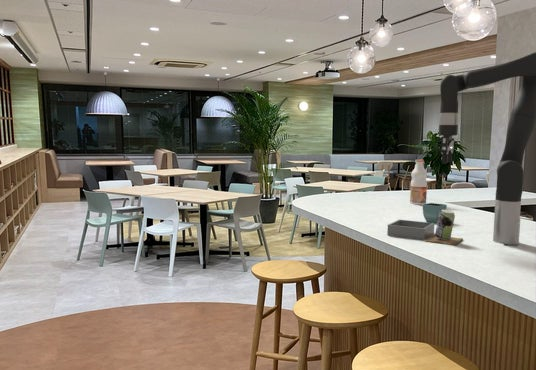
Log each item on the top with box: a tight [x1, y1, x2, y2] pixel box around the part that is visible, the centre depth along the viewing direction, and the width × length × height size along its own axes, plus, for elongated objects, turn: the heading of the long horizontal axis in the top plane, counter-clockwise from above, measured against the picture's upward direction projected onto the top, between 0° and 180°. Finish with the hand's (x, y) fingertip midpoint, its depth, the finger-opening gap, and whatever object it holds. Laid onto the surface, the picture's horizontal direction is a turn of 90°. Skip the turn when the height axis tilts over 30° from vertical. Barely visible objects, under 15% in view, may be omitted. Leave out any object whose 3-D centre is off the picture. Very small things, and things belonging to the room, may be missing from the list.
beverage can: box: [434, 209, 456, 240], centre depth 193 cm, size 6×7×12 cm
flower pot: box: [421, 202, 448, 224], centre depth 234 cm, size 9×9×9 cm
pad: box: [424, 234, 464, 246], centre depth 194 cm, size 12×12×1 cm
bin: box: [386, 219, 435, 241], centre depth 206 cm, size 16×16×4 cm
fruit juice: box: [409, 159, 428, 206], centre depth 288 cm, size 9×9×28 cm
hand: (446, 162), depth 201 cm, fingers open, 8 cm apart
